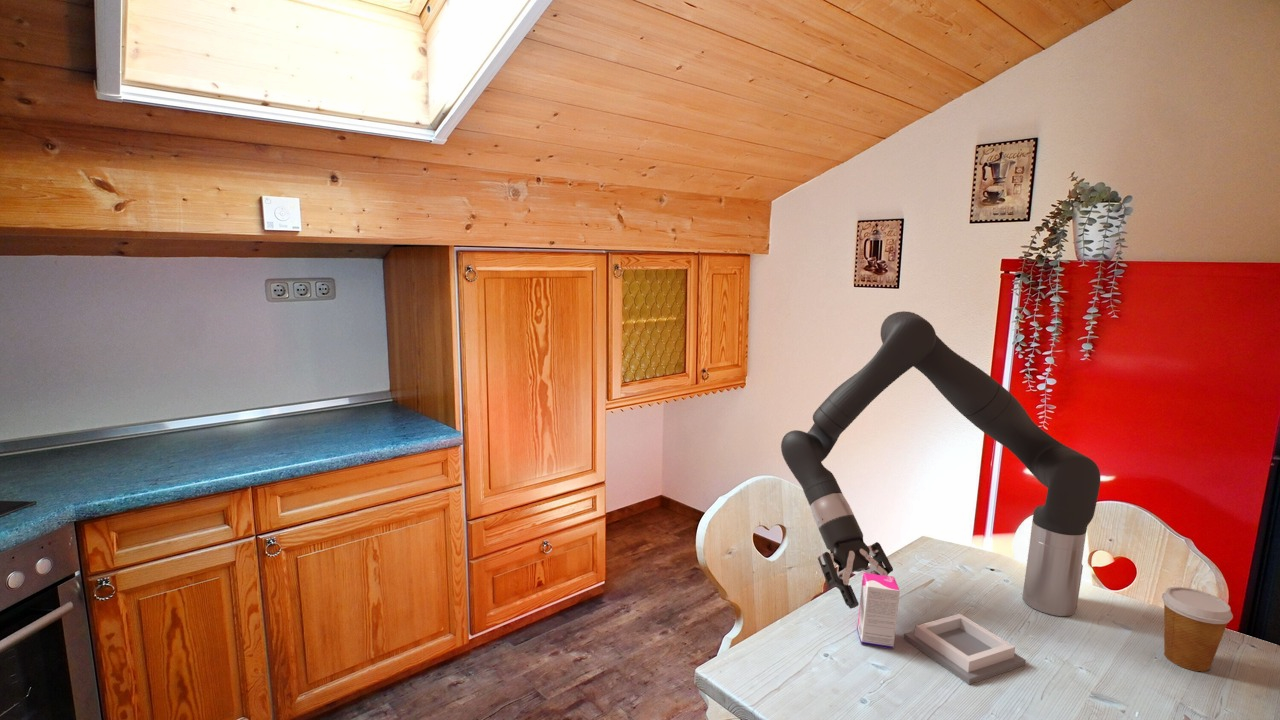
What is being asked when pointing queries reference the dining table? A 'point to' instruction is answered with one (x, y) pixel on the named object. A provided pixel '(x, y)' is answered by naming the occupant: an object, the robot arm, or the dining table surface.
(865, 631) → the supplement box
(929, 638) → the socket
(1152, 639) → the dining table surface
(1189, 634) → the disposable coffee cup
